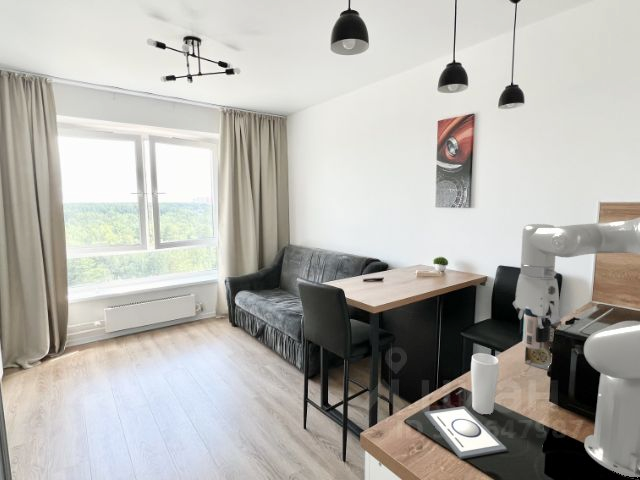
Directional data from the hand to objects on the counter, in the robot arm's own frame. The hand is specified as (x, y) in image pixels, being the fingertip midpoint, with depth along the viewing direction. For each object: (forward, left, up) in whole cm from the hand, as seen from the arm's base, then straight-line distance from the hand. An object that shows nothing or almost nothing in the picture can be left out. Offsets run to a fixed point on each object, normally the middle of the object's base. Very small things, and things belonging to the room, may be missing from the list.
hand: (533, 336), depth 93 cm
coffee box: (+20, -24, -21) cm, 38 cm away
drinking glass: (+2, +13, -21) cm, 25 cm away
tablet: (-4, +23, -21) cm, 31 cm away
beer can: (0, 0, -3) cm, 3 cm away
